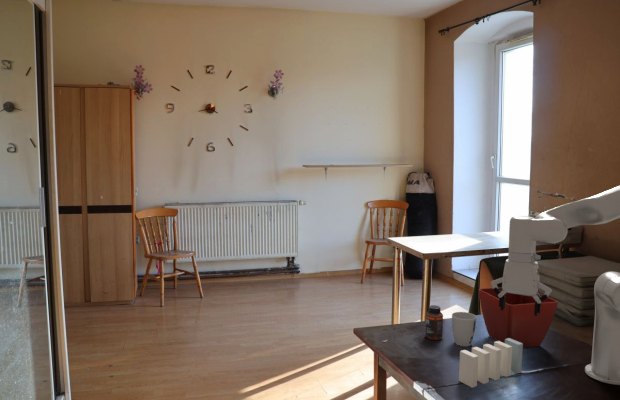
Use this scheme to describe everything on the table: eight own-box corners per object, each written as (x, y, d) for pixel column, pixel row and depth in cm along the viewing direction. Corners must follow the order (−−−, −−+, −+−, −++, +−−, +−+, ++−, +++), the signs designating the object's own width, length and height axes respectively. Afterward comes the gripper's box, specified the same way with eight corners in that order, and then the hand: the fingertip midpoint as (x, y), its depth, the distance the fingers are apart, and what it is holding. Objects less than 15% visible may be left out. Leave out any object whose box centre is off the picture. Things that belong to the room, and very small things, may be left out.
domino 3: (499, 378, 150) (501, 349, 149) (495, 380, 149) (496, 350, 148) (486, 372, 155) (487, 343, 154) (481, 373, 154) (483, 344, 153)
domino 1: (476, 386, 146) (478, 355, 145) (471, 387, 145) (473, 357, 144) (463, 379, 150) (465, 349, 149) (458, 380, 149) (460, 351, 148)
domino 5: (521, 371, 155) (522, 343, 154) (516, 373, 154) (518, 344, 153) (507, 365, 160) (509, 338, 159) (503, 366, 159) (504, 339, 158)
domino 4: (510, 375, 153) (512, 346, 152) (506, 376, 152) (507, 347, 151) (497, 368, 157) (498, 340, 156) (492, 370, 156) (494, 342, 155)
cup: (476, 349, 172) (477, 320, 171) (451, 347, 174) (452, 318, 173) (473, 340, 180) (475, 312, 179) (449, 338, 182) (451, 311, 180)
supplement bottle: (444, 336, 183) (445, 306, 182) (439, 342, 178) (440, 310, 177) (428, 333, 186) (429, 303, 185) (422, 338, 181) (423, 307, 180)
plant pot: (556, 349, 173) (559, 301, 171) (507, 354, 168) (510, 304, 166) (520, 329, 191) (523, 285, 189) (475, 333, 187) (477, 288, 185)
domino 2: (488, 382, 148) (490, 352, 147) (483, 383, 147) (485, 354, 146) (475, 375, 152) (476, 346, 151) (470, 377, 151) (471, 347, 150)
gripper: (554, 258, 152) (552, 313, 154) (494, 251, 161) (492, 304, 163) (551, 263, 146) (548, 320, 148) (489, 256, 155) (487, 310, 157)
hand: (519, 312), depth 155 cm, fingers open, 9 cm apart
